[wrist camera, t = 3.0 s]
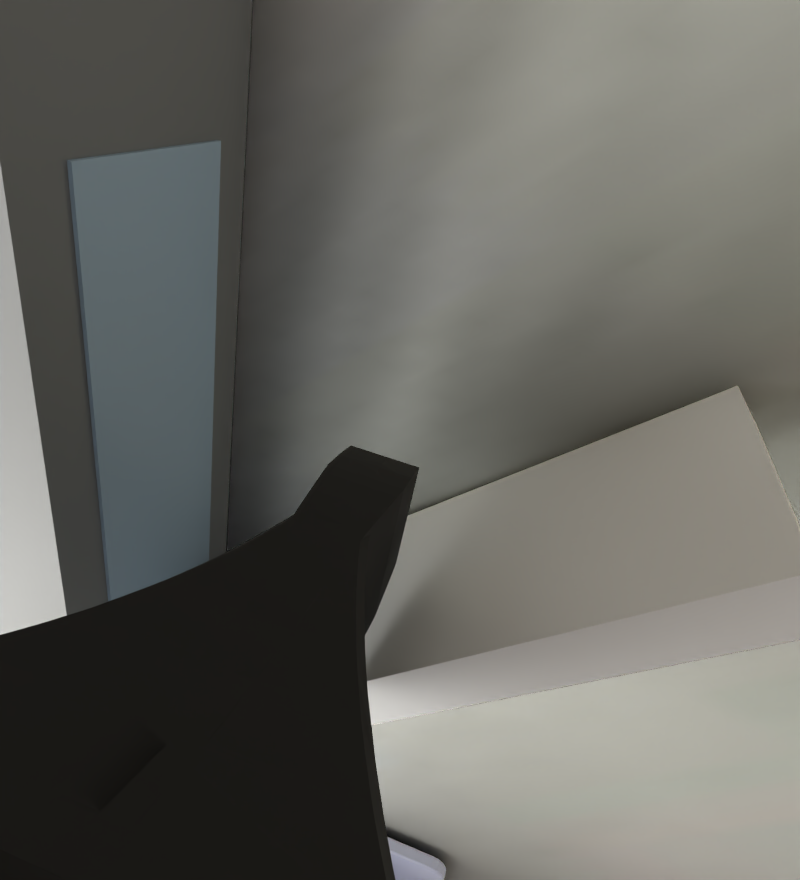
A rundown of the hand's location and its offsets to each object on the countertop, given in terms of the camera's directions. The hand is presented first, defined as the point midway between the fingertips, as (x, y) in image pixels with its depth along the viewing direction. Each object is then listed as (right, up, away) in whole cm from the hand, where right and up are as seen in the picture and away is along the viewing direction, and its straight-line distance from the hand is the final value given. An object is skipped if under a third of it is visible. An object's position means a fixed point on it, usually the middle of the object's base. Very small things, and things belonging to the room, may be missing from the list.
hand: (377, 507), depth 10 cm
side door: (+1, -1, +3) cm, 3 cm away
